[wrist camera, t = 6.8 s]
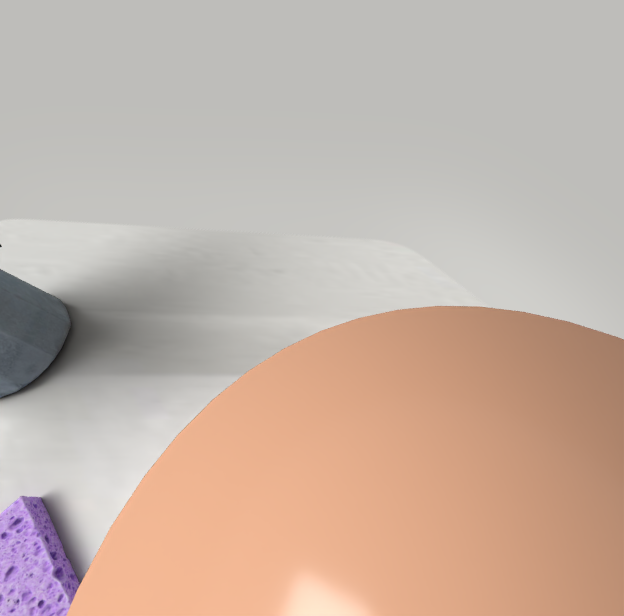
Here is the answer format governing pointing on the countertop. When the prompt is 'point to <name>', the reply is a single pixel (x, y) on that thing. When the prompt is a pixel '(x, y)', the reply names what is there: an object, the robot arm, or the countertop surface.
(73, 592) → the sponges
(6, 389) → the moka pot
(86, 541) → the countertop surface
